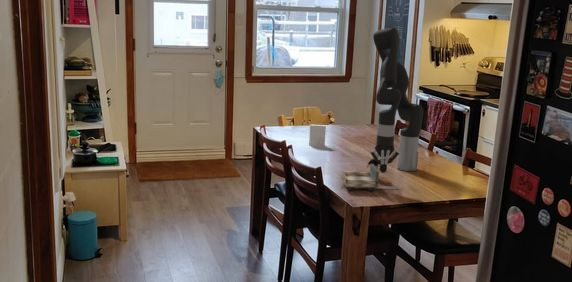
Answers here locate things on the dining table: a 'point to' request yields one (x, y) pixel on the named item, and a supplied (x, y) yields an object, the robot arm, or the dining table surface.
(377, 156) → the grandmother figurine
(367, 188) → the strip
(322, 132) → the light grey upright block
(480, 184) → the dining table surface
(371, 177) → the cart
